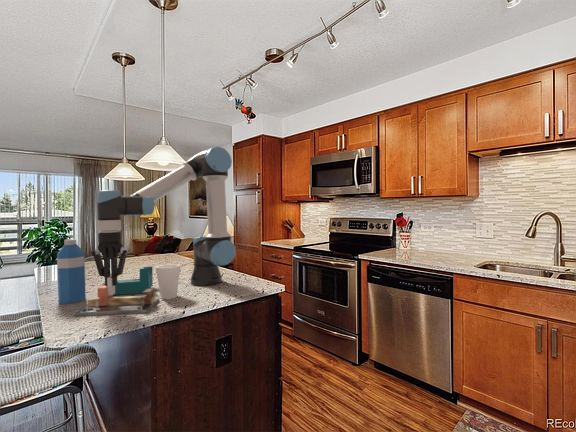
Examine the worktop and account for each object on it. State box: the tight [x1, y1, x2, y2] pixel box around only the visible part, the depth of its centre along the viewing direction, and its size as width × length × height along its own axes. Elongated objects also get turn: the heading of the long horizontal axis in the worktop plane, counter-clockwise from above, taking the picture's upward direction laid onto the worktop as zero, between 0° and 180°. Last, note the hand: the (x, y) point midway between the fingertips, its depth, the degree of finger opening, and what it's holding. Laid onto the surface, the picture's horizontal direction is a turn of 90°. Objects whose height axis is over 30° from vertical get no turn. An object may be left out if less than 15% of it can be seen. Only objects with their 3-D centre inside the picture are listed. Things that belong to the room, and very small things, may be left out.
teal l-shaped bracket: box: [102, 266, 154, 296], centre depth 141 cm, size 18×11×10 cm, turn 105°
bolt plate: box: [74, 298, 160, 317], centre depth 116 cm, size 24×14×1 cm, turn 95°
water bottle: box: [56, 238, 87, 305], centre depth 128 cm, size 9×9×25 cm
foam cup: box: [155, 263, 181, 300], centre depth 130 cm, size 10×9×13 cm
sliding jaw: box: [95, 285, 114, 309], centre depth 115 cm, size 3×9×6 cm, turn 5°
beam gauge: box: [87, 287, 155, 307], centre depth 115 cm, size 23×9×5 cm, turn 95°
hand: (111, 294), depth 117 cm, fingers closed
